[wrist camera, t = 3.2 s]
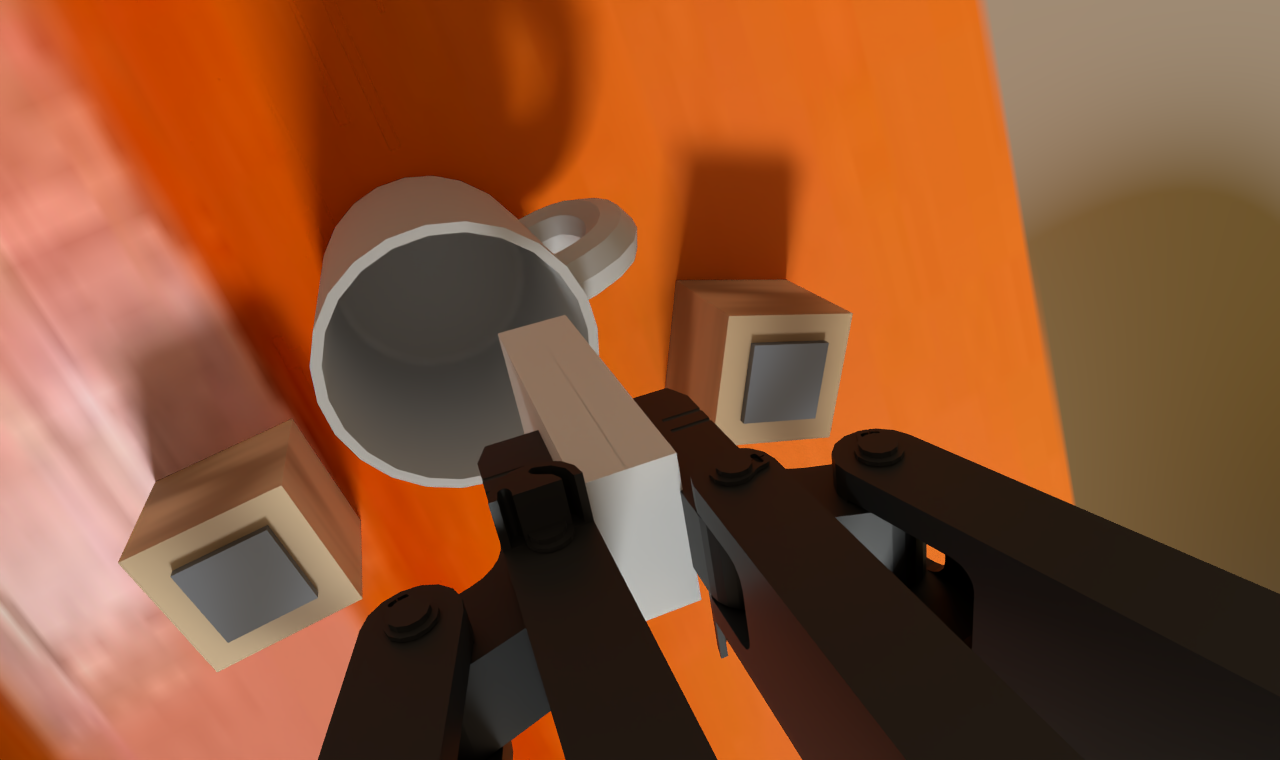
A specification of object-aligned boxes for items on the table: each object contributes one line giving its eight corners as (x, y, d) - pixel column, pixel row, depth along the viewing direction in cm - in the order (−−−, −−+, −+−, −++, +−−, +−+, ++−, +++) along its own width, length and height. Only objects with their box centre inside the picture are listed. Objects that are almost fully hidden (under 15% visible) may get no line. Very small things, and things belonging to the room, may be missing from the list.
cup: (276, 235, 25) (243, 314, 17) (543, 98, 26) (623, 114, 19) (395, 405, 29) (411, 534, 21) (626, 277, 30) (723, 354, 22)
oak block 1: (237, 580, 29) (215, 678, 25) (155, 480, 27) (115, 568, 22) (361, 519, 30) (362, 604, 25) (292, 417, 28) (280, 490, 23)
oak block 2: (663, 394, 32) (715, 450, 28) (675, 279, 31) (732, 318, 26) (768, 388, 34) (833, 440, 29) (785, 279, 32) (857, 315, 28)
